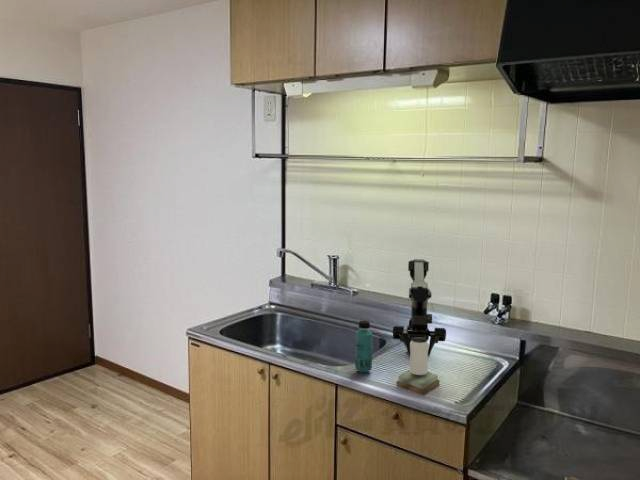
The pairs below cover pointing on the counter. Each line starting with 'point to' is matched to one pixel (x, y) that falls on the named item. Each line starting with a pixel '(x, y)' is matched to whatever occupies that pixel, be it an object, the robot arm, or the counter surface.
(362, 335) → the beverage bottle
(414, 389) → the tower base
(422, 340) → the can
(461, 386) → the counter surface
